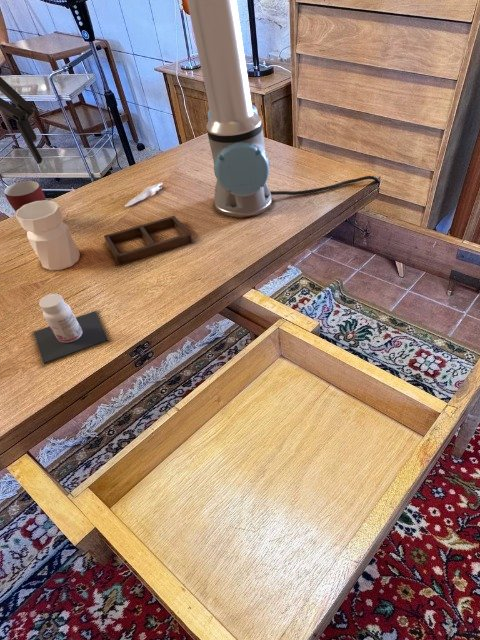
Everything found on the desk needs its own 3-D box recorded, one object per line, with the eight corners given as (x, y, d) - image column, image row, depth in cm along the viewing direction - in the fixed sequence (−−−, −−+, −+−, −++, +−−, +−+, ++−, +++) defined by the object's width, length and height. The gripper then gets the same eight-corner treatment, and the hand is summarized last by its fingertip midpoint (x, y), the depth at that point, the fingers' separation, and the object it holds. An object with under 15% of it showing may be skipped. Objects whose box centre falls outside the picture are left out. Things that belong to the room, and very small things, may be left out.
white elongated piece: (159, 186, 127) (157, 179, 125) (166, 188, 126) (164, 181, 125) (121, 208, 119) (119, 201, 117) (128, 210, 118) (126, 204, 116)
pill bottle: (52, 336, 85) (31, 301, 79) (74, 323, 88) (55, 288, 81) (65, 347, 83) (45, 312, 77) (87, 334, 86) (69, 298, 79)
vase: (36, 271, 100) (8, 221, 91) (48, 250, 106) (23, 200, 97) (74, 269, 100) (50, 219, 91) (85, 248, 106) (63, 199, 97)
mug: (10, 229, 112) (-12, 190, 105) (35, 215, 117) (16, 176, 109) (40, 238, 109) (20, 198, 102) (64, 223, 114) (47, 184, 106)
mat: (95, 312, 91) (95, 311, 90) (108, 340, 85) (108, 339, 85) (34, 333, 87) (33, 331, 86) (44, 364, 81) (43, 362, 81)
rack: (176, 222, 113) (174, 215, 112) (192, 242, 107) (190, 234, 106) (106, 243, 108) (103, 235, 106) (119, 265, 101) (116, 257, 100)
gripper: (2, 31, 79) (67, 158, 88) (-163, 56, 69) (-72, 197, 78) (2, 8, 73) (71, 147, 82) (-180, 32, 63) (-79, 188, 72)
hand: (2, 172), depth 80 cm, fingers open, 13 cm apart
